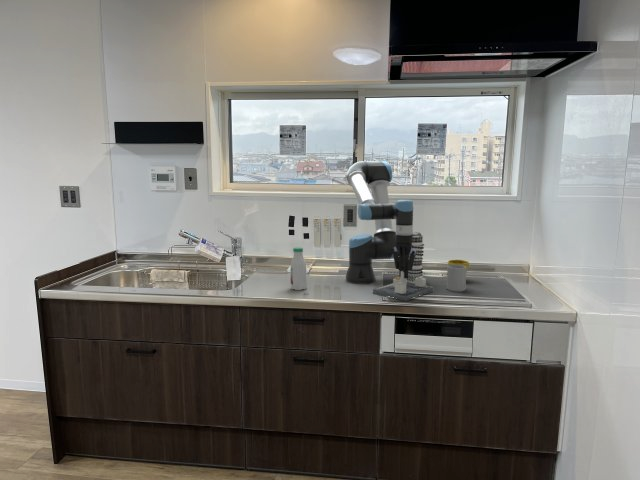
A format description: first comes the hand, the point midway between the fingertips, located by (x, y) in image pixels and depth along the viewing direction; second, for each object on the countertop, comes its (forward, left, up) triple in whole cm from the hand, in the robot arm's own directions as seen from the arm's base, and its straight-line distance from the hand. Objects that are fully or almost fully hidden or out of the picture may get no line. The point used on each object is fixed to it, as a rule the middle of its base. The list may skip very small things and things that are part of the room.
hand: (403, 284), depth 205 cm
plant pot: (+7, +38, -4) cm, 39 cm away
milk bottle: (-41, -28, -4) cm, 50 cm away
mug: (+14, +23, -4) cm, 27 cm away
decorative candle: (-8, +21, -4) cm, 23 cm away
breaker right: (+4, +8, -1) cm, 9 cm away
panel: (0, 0, -4) cm, 4 cm away
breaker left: (+4, -8, -1) cm, 9 cm away
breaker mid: (-3, 0, -1) cm, 3 cm away
